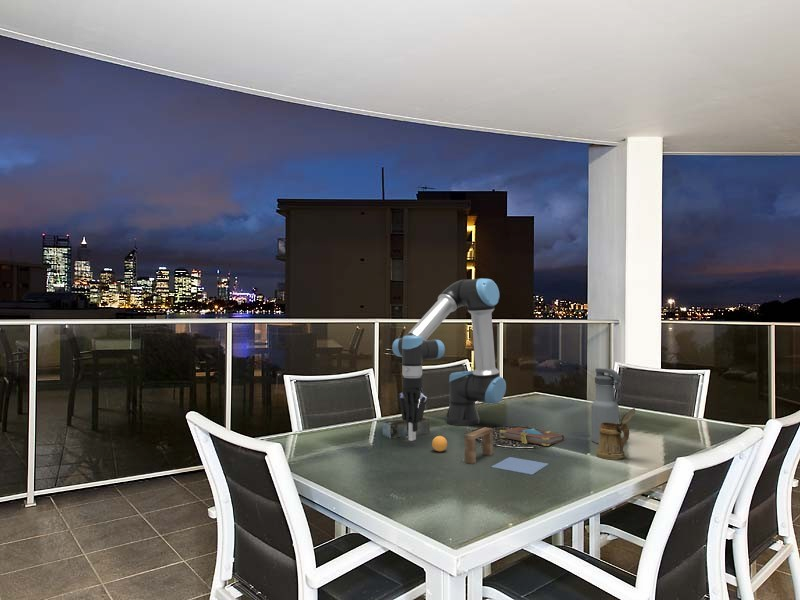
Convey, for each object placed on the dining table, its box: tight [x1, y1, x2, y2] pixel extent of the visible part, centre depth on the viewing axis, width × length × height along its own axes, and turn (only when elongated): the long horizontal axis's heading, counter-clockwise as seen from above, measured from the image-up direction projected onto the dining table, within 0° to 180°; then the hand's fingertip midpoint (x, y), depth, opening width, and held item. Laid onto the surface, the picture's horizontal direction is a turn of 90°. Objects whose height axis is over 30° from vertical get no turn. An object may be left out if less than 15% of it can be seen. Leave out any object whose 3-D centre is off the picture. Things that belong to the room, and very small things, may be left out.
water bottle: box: [590, 367, 621, 444], centre depth 206 cm, size 10×10×28 cm
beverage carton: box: [382, 417, 431, 439], centre depth 220 cm, size 8×19×6 cm, turn 118°
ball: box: [431, 435, 448, 453], centre depth 193 cm, size 6×6×6 cm
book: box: [499, 426, 565, 447], centre depth 212 cm, size 16×25×5 cm, turn 47°
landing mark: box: [490, 456, 549, 476], centre depth 175 cm, size 14×14×1 cm
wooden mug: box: [596, 407, 636, 461], centre depth 184 cm, size 9×14×18 cm, turn 40°
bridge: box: [464, 426, 494, 465], centre depth 184 cm, size 3×14×9 cm, turn 144°
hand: (412, 439), depth 200 cm, fingers closed
